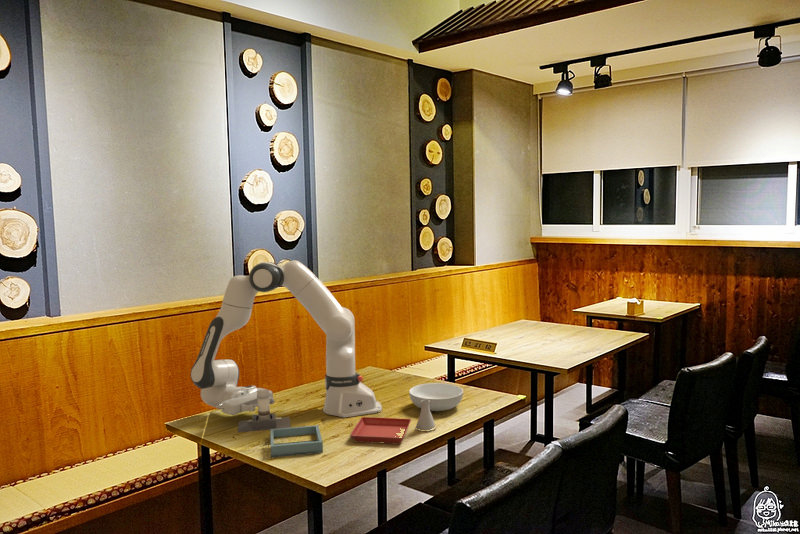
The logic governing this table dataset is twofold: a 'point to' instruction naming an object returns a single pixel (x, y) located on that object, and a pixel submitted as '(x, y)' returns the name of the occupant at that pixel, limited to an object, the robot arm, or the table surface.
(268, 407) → the cylinder
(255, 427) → the board
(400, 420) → the plant saucer
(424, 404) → the flask
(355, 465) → the table surface
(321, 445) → the tray
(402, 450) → the table surface
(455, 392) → the serving bowl
